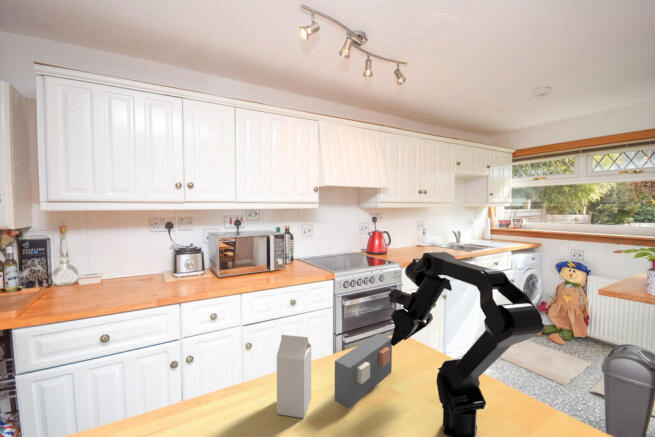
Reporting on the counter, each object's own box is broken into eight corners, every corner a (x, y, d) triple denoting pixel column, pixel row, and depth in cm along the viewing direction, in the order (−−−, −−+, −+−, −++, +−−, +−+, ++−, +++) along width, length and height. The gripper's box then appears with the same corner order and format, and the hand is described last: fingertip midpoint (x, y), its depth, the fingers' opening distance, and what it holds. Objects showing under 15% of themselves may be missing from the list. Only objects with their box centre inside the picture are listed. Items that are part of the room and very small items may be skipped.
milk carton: (303, 418, 72) (304, 343, 71) (276, 414, 73) (276, 340, 72) (311, 399, 79) (311, 331, 78) (286, 396, 80) (286, 328, 79)
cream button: (369, 377, 80) (370, 363, 79) (361, 384, 77) (361, 369, 76) (364, 374, 81) (364, 361, 80) (355, 381, 78) (356, 367, 77)
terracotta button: (389, 361, 88) (390, 348, 88) (383, 366, 85) (383, 353, 85) (384, 359, 89) (384, 346, 89) (377, 364, 86) (377, 351, 86)
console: (391, 372, 92) (392, 338, 91) (349, 409, 75) (349, 367, 74) (377, 366, 95) (378, 333, 94) (334, 400, 78) (334, 360, 78)
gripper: (412, 278, 91) (387, 319, 93) (390, 278, 76) (361, 327, 78) (444, 300, 85) (417, 343, 87) (427, 304, 70) (395, 357, 72)
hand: (398, 341), depth 81 cm, fingers open, 9 cm apart
